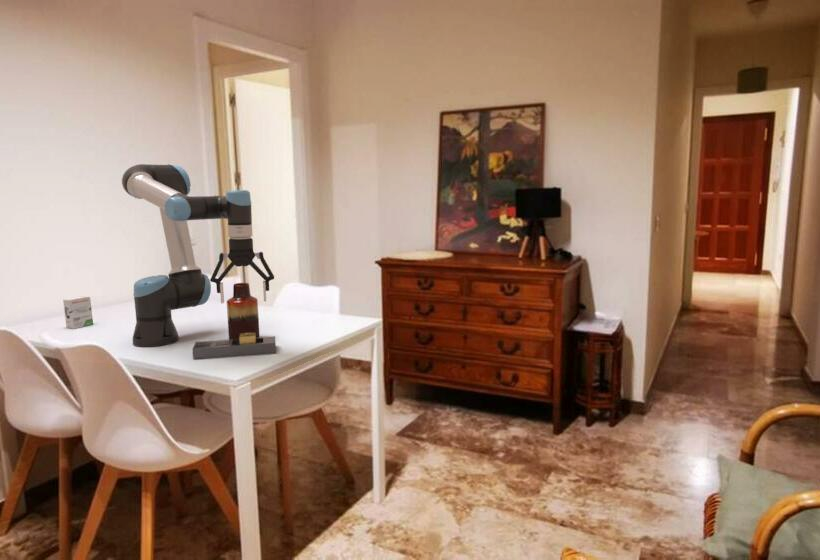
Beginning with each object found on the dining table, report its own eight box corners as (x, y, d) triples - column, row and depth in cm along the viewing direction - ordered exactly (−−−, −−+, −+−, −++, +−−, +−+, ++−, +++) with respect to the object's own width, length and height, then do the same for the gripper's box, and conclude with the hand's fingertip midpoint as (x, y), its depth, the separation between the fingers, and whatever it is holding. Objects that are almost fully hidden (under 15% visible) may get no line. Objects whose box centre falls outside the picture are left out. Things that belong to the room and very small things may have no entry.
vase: (223, 339, 210) (220, 284, 207) (250, 333, 218) (247, 280, 214) (238, 344, 202) (234, 287, 199) (265, 338, 210) (262, 283, 207)
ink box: (87, 323, 238) (84, 295, 236) (93, 324, 236) (91, 296, 234) (65, 327, 231) (62, 298, 229) (72, 329, 228) (69, 300, 227)
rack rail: (193, 359, 185) (192, 348, 184) (196, 351, 194) (195, 341, 193) (275, 353, 191) (275, 342, 190) (275, 346, 200) (275, 336, 199)
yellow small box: (240, 354, 190) (239, 335, 189) (241, 350, 195) (239, 331, 194) (256, 353, 191) (254, 334, 190) (256, 349, 196) (255, 330, 195)
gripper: (198, 239, 181) (203, 305, 184) (280, 237, 187) (282, 301, 190) (201, 237, 188) (205, 301, 192) (279, 235, 194) (282, 297, 197)
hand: (243, 301), depth 191 cm, fingers open, 13 cm apart
